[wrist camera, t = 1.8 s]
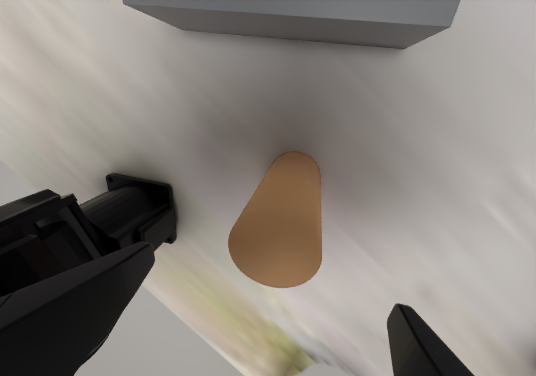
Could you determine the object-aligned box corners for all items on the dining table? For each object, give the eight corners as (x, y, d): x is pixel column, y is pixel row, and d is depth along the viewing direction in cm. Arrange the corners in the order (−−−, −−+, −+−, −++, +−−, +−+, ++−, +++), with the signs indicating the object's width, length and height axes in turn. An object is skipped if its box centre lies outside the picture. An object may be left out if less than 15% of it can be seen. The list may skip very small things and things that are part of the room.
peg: (267, 194, 18) (226, 275, 10) (272, 148, 17) (229, 201, 9) (314, 203, 18) (311, 297, 10) (325, 156, 16) (332, 222, 8)
